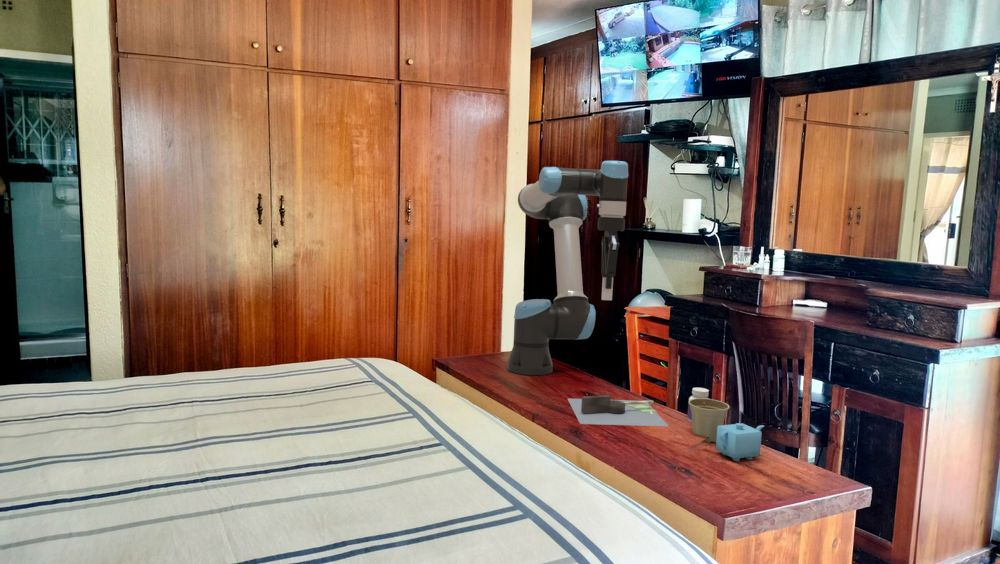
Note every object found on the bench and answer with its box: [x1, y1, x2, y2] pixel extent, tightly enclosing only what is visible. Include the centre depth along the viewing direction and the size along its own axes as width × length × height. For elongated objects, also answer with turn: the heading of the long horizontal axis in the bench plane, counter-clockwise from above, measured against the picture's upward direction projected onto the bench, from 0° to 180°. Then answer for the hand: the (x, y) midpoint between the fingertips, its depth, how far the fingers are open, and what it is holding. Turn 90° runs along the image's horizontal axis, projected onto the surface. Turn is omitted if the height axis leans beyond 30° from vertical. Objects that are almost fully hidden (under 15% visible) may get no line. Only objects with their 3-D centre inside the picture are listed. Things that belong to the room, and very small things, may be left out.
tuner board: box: [567, 398, 670, 427], centre depth 177 cm, size 22×22×2 cm
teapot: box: [715, 422, 765, 462], centre depth 152 cm, size 12×6×8 cm, turn 111°
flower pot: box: [688, 398, 730, 443], centre depth 163 cm, size 9×9×9 cm
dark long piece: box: [581, 394, 654, 413], centre depth 177 cm, size 21×5×4 cm, turn 109°
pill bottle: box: [686, 387, 710, 424], centre depth 171 cm, size 5×5×10 cm
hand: (606, 299), depth 193 cm, fingers closed
